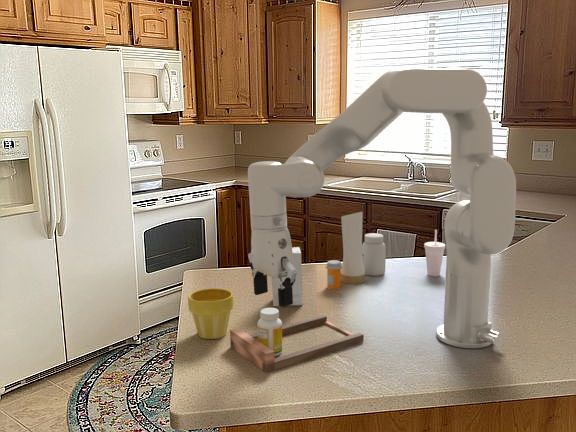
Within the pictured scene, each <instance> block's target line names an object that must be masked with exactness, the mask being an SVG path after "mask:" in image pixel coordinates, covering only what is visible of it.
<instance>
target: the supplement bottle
mask: <svg viewBox="0 0 576 432" xmlns="http://www.w3.org/2000/svg"><path fill="white" fill-rule="evenodd" d="M259 311H260V312H259V315H260V318H259V319H258V321H257V323H256V324H257V326H256V327H257V329H256V330H257V331H256V333H257V340H258V341H259V342H260V343H262V344H264V345H265V346H267V347H268V348H270V349H271V350H273V351H274V358H276V357H277V356H279V355H281V354H282V353H283V335H282V326H283V322H282V320H281V318H279V317H280V311H279V309H277V308H275V307H265V308H262V309H260V310H259Z"/></svg>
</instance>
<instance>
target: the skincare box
mask: <svg viewBox="0 0 576 432" xmlns="http://www.w3.org/2000/svg"><path fill="white" fill-rule="evenodd" d="M292 251H293V261H294V268H295V269H296V270H297V274H296V278H295V282H294V286H293V287H292V294H293V304H291V305H288V306H287V307H289V306H303V303H304V302H303V276H302V275H303V274H302V273H303V272H302V251H301V248H300V246H296V247H295V246H294V247H292ZM280 273H284V272H280ZM280 273H279V274H280ZM285 279H286V278H285V277H282V281H283V282H284V280H285ZM278 288H280V287H279V284H278V282H277V280H276V278H273V277H271V290H272V291H271V292H272V306H273V307H279V300H278Z"/></svg>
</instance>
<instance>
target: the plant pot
mask: <svg viewBox="0 0 576 432" xmlns="http://www.w3.org/2000/svg"><path fill="white" fill-rule="evenodd" d="M187 299H188V300H187V303H188V310H189V312H190V313H192V317H193V321H194V325H195V328H196V333H197V335H198V336H199V338H201V339H204V340H217V339H220V338H223V337H224V336H226V335H227V331H228V326H229V320H230V315H231V311H232V310H233V308H234V293H233V292H232V291H231V290H229V289H226V288H218V287H210V288H201V289H198V290H195V291H192V292H190V293H189V294H188V297H187Z"/></svg>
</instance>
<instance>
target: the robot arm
mask: <svg viewBox="0 0 576 432" xmlns="http://www.w3.org/2000/svg"><path fill="white" fill-rule="evenodd" d="M487 90H488V87H487V82H486V80H485V79H484V77H483V75H482V74H480V73H479V72H477V71H476V70H473V69H470V68H427V67H425V68H424V67H403V68H395V69H391V70H388V71H387V72H385V73H383V74H382V75H381V76H379V78H378V79H376V80H375V81H374V82H373V83H372V84H371V85H369V87H368V88H367V89H366V90H365V91H364V92H362V93H361V94H360V95H359V96H358V97H357V98H356V99H355V100H354V101H353V102H352V103H351V104H350V105H348V107H346V108H345V109H344V110H343V111H342V112H340V114H338V115H337V116H336V117H334V118H333V119H332V120H330V121H329V122H328V123H327V124H326V125H325V126H324V127H322V128H321V129H320V130H318V131H317V132H316V133H315V134H313V135H312V136H311V137H310V138H308V140H307V141H306V142H305V143H303V144H302V145H301V146H300V147H299V148H298V149H296V150H295V152H294V153H292V154H291V155H290V156H289V158H288V159H286V161H285V162H284V163H281V162H279V161H275V160H274V161H273V160H267V161H264V160H262V161H257V162H253V163H251V164H250V165H249V166H248V169H247V181H248V196H249V213H250V214H249V215H250V228H251V236H250V237H251V238H250V249H251V250H250V252H249V253H248V254H247V257H248V261H249V267H250V269H251V276H252V277H253V294H254V295H255V296H259V295H263V294H266V293H268V291H269V289H268V277H270V278H272V277H273V278H276V280H277V282H278V284H279V287H280V288H278V300H279V306H278V307H280V308H284V307H289V306H288V305H290V306H292V305H291V304H293V294H292V287H293V286H294V282H295V278H296V274H297V270H296V269H295V268H294V261H293V251H292V248H293V247H292V246H293V245H292V240H291V239H292V238H291V234H290V231H289V228H288V219H287V217H288V215H287V198H286V197H295V198H309V197H313V196H316V195H317V194H318V193H319V192H320V191H321V190H322V189H323V187H324V185H325V173H324V171H326V169H327V168H328V167H330V166H331V165H332V164H333V163H335V162H336V161H337V160H339V159H341V158H343V156H344V157H345V156H346V155H348V154H350V153H353V152H356V151H359V150H361V149H362V148H365V147H366V146H369V144H371V142H373V141H374V140H375V139H376V138H377V137H378V136H379V135H380V134H381V133H382V132H384V130H385V129H387V128H388V127H389V126H390V124H392V123H393V122H394V121H396V119H397V118H399V116H401V114H402V113H416V114H417V113H419V114H420V113H421V114H442V115H443V116H444V118H445V120H446V121H447V124H448V126H449V132H450V150H451V151H450V182H451V185H452V186H453V188H454V190H456V191H457V192H459V193H460V194H463V195H464V196H466V197H469V200H468V199H467V200H461V201H460V200H459V201H458V202H456V203H455V204H454V203H453V205H451V206H450V208H448V211H447V213H446V215H445V218H444V226H443V227H444V236H445V249H446V262H445V263H446V264H445V265H446V266H445V282H444V283H445V284H444V306H443V324H441V325H438V327H437V328H436V330H435V333H436V334H435V335H436V338H438V340H439V341H441V342H443V343H444V344H446V345H449V346H453V347H457V348H462V349H482V348H486V347H488V346H491V345H492V344H493V345H495V346H496V345H498V344H499V342H500V338H501V336H502V334H501V333H500V332H498V331H496V330H495V331H494V330H493V329H492V324H493V323H492V322H490V321H489V320H488V318H489V303H490V285H491V273H492V257H491V255H497V254H500V253H503V251H505V250H506V249H507V248H508V247H509V246H510V244H511V242H512V240H513V237H514V233H515V229H516V228H515V227H516V226H515V225H516V204H517V203H516V201H517V178H516V175H515V171H514V169H513V167H512V165H511V164H510V162H508V161H507V160H506V159H505V158H502V157H501V156H498V155H494V141H493V136H494V135H493V123H492V117H491V115H490V111H489V109H488V107H487V106H486V104H485V102H484V101H485V99H486V97H487V93H488V91H487ZM280 272H284V273H280ZM279 273H280V274H279ZM282 277H285V278H286V279H285V280H284V282H283V281H282Z"/></svg>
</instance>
